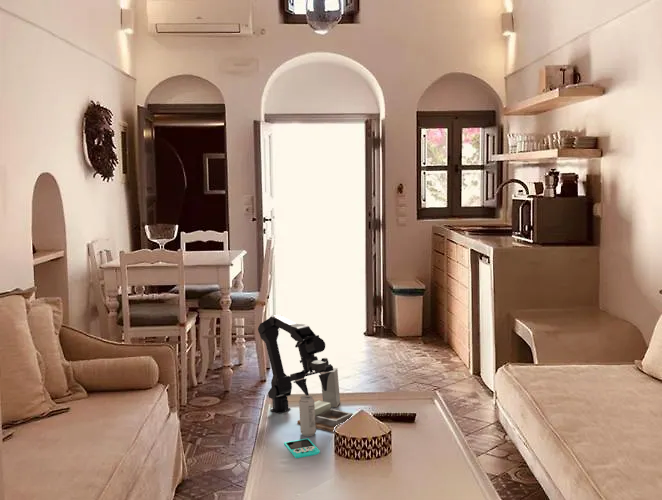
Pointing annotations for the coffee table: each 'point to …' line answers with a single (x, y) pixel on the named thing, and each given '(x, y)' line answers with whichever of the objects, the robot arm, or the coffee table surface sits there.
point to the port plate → (328, 416)
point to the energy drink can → (307, 415)
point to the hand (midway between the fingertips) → (316, 393)
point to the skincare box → (332, 389)
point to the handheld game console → (302, 448)
